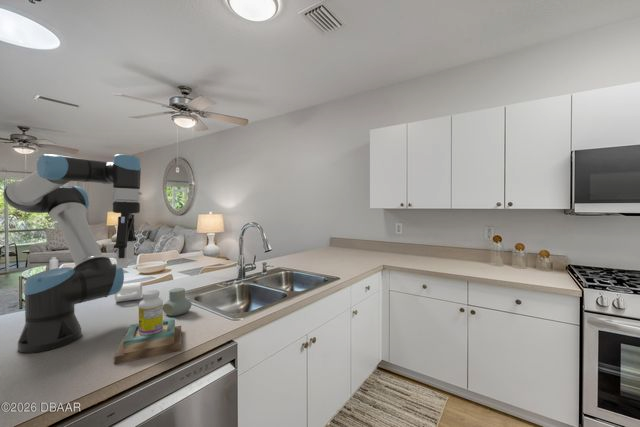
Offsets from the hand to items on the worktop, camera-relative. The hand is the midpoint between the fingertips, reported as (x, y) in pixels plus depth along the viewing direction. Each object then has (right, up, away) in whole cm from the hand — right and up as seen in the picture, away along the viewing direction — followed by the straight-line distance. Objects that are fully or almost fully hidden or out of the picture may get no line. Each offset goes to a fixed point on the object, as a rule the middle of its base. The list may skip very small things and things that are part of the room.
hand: (125, 263), depth 95 cm
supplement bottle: (+12, -21, -6) cm, 25 cm away
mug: (-24, -25, +36) cm, 50 cm away
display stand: (+12, -25, -6) cm, 29 cm away
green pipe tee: (+6, -25, +22) cm, 34 cm away
